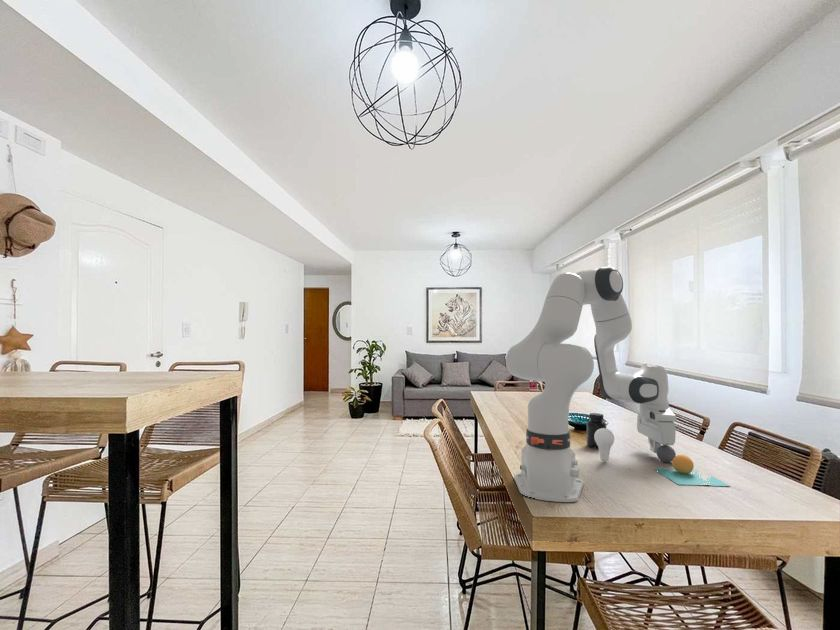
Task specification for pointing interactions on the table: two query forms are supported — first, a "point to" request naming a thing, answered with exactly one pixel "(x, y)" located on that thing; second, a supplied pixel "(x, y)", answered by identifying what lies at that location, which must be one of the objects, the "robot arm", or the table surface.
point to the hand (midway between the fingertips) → (654, 452)
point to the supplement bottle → (594, 428)
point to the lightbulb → (604, 442)
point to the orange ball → (683, 464)
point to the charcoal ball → (666, 453)
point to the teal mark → (689, 478)
